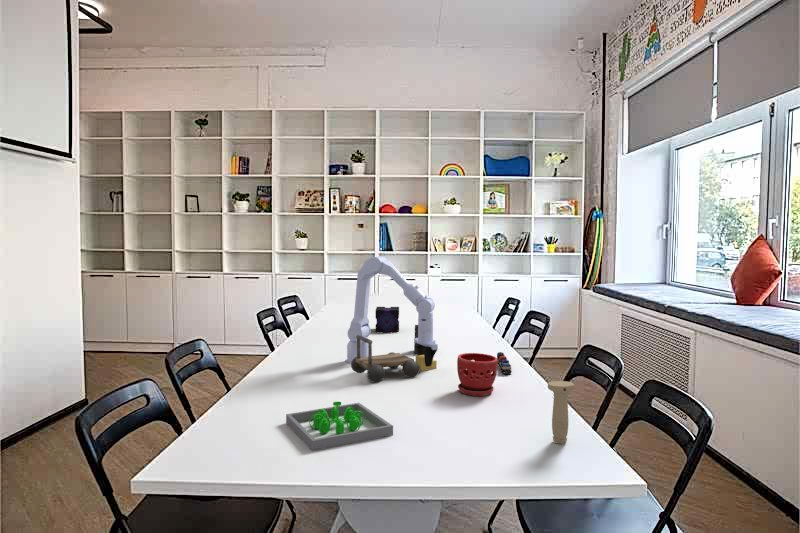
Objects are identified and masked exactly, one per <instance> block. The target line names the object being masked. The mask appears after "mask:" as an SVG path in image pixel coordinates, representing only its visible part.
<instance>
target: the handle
mask: <svg viewBox="0 0 800 533" xmlns="http://www.w3.org/2000/svg"><path fill="white" fill-rule="evenodd" d="M547 389H548V390H549V391H551V392H552V393H553V404H552V415H551V416H552V417H551V429H552V435H553V436H552V441H553V442H554V443H555V444H559V445H563V444H566V443H567V441H568V431H569V403H568V401H569V400H568V399H569V398H568V397H569V393H570V392H572V391H574V390H575V383H573V382H571V381H566V380H563V381H562V380H558V381H555V380H552V381H549V382H547Z"/></svg>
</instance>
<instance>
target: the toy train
mask: <svg viewBox="0 0 800 533" xmlns="http://www.w3.org/2000/svg"><path fill="white" fill-rule="evenodd" d="M505 355H506V354H505V353H504V352H502V351H499V352H497V353H496V358H497V360H498V365H497V367H499V369H500V371H501V373H502V374H503V375H504V374H509V373H510V374H509V375H511V374H512V365H511V364H510V361H509V360H508V358H507V356H505Z"/></svg>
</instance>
